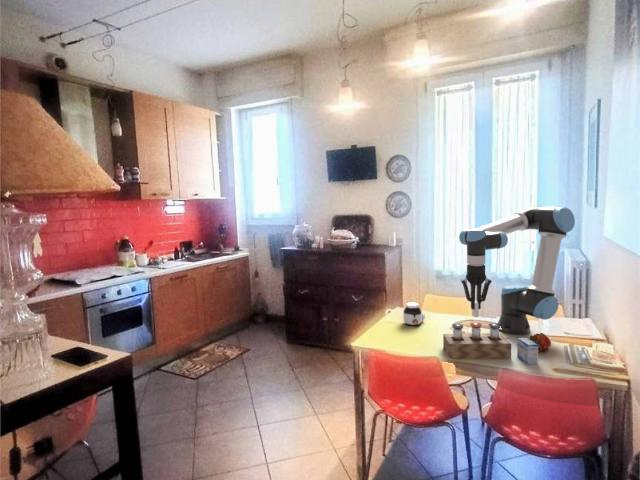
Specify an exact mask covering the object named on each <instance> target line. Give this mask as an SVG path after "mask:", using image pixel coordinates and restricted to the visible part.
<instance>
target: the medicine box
mask: <svg viewBox="0 0 640 480" xmlns="http://www.w3.org/2000/svg"><path fill="white" fill-rule="evenodd" d="M516 349H517V352H516V353H517V354H516V357H517V359H519V360H521V361H523V362H524V363H525V364H526V365H528V366H529V365H537V364H538V363H539V362H538V361H539V352H538V344H536V343H534V342H533V341H531V340H530V338H528V337H519V338H517V348H516Z"/></svg>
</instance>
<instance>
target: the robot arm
mask: <svg viewBox="0 0 640 480" xmlns="http://www.w3.org/2000/svg"><path fill="white" fill-rule="evenodd" d="M575 219H576V217H575V214H574V213H573V211H572V210H571V209H570V208H568V207H563V206H533V207H530V208H526V209H523V210H520V211H517V212H515V213H513V215H512V216H511V215H510V217H507V218H503V219H501V220H500V219H499V220H497V221H495V222H492V223H489V224H486V225H481V226H480V227H477V228H471V229H464V230H462V231H461V232H460V233H459V235H458V238H459V242H460V244H462V245H465V246H466V264H467V265H466V275H465V278H463V279H460V283H461V284H462V285H463V286H462V287H463V291H464V294H465V297H466V299H465V300H467V301H468V302H470V308H471V310H472V315H473V317H474V318H479V310H481V307H482V306H481V305H482V304H481V303H482V302H485V301H486V298H487V295H488V292H489V287H490V286H491V284H492V281H493V280H492V279H490V278H488V277H487V275H486V251H489V250H495V249H498V250H499V249H503V248H505V247H506V246H507V245H508V243H509V241H508V240H509V239H508V234H511V233H514V232H518V231H520V232H522V231H525V230H536V231H537V230H538V231H537V232H538V235H539V236H540V240H539V243H538V244H539V245H538V251H537V256H536V260H535V261H536V262H535V266H534V271H533V277H532V282H531V285H529V286H526V285H523V284H521V285H519V284H515V285H506V286H503V287H502V288H501V294H500V297H501V298H500V299H501V301H500V304H501V307H500V308H501V310H500V311H501V314H500V316H499V319H498V321H497V323H498V324H500V326H501V328H502V330H503V331H502V332H503V333H506V334H511V335H526V333H527V332H529V331H530V332H531V325H530V323H529V322H530V321H529V320H528V317H527V316H531V317H533V318H536V319H540V320H549V319H551V318H553V317H554V316H555V315H556V314H557V311H558V309H559V300H558V298H556V297H555V291H554V290H553V284H554V279H555V276H556V275H555V274H556V270H557V265H558V259H559V253H560V248H561V245H562V244H561V243H562V240H563V239H564V238H566V236H567V233H569V232H571V231H572V230H573V229H574V227H575V223H576V220H575ZM468 283H469V284H470V291H469V287H468ZM483 283H484V285H483ZM482 286H483V288H482ZM530 332H529V333H530ZM527 334H528V333H527Z"/></svg>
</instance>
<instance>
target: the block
mask: <svg viewBox="0 0 640 480" xmlns="http://www.w3.org/2000/svg"><path fill="white" fill-rule="evenodd" d="M442 339H443V341H442V342H443V343H442V344H443V345H442V346H443V350H444V352H445V354H446V355H447V357H448V359H449V360H511V359H512V342H511V341H510V340H508V339H507V337H505V336H504V334H502V333H501V332H499V340H495V341H491V340H490V332H489V333H487V332H486V333H480V341H472V333H462V341H454V339H453V333H443V335H442Z"/></svg>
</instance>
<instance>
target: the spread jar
mask: <svg viewBox="0 0 640 480" xmlns="http://www.w3.org/2000/svg"><path fill="white" fill-rule="evenodd" d="M419 306H420V305H419V303H418V302H413V301H412V302H411V301H410V302H407V303H405V308H404V310H403V312H402V313H403V317H402V318H403V322H404V324H405V325H407V326H408V327H418V326H420V325H421V324H422V322H423V321H424V320H425V318H426V314H425V313H424V312H423V311H422V310H421V308H420V307H419Z"/></svg>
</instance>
